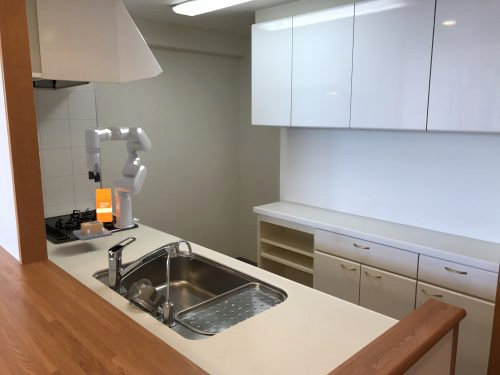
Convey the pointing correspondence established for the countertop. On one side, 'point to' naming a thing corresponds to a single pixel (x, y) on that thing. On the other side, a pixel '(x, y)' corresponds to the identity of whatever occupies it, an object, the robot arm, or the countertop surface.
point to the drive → (91, 227)
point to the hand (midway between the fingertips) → (94, 180)
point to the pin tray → (83, 237)
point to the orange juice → (104, 205)
